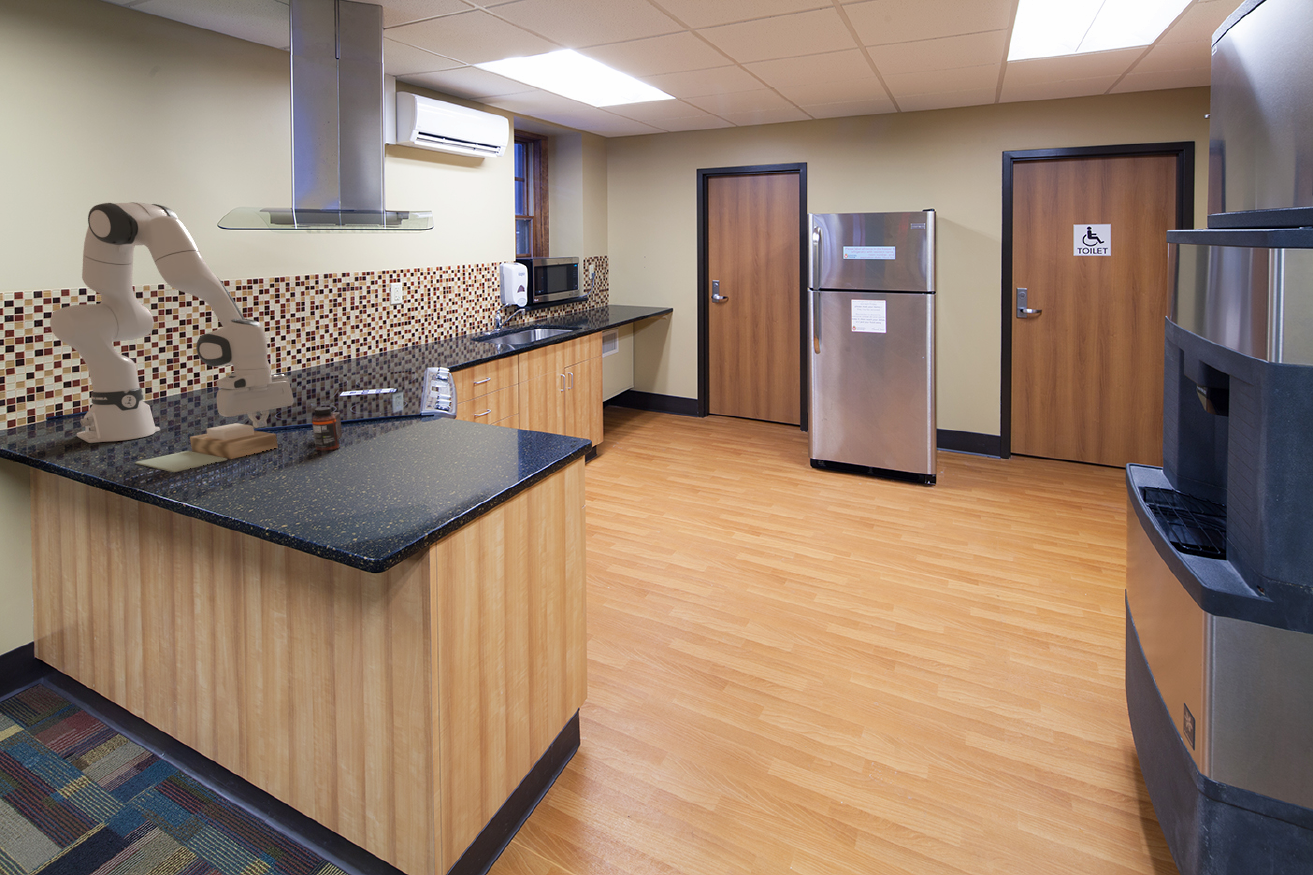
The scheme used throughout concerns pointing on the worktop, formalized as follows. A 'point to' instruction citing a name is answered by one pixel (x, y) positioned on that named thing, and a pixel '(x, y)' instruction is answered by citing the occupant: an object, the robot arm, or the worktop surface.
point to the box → (338, 424)
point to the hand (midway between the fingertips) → (260, 426)
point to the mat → (180, 461)
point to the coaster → (230, 431)
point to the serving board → (234, 445)
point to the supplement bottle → (325, 429)
